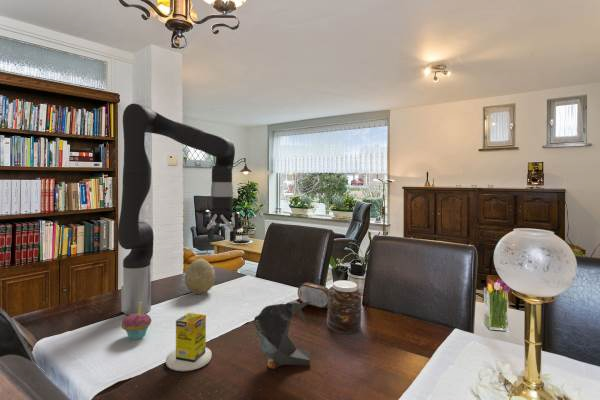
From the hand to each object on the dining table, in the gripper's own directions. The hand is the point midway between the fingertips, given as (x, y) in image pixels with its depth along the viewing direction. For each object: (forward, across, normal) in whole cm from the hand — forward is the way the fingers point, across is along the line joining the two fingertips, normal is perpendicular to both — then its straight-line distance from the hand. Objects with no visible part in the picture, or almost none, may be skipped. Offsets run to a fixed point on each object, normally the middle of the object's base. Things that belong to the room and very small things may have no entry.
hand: (221, 240), depth 122 cm
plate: (+28, +7, -28) cm, 40 cm away
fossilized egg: (+28, -22, +19) cm, 41 cm away
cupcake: (+28, -17, -22) cm, 40 cm away
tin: (+28, +28, +24) cm, 47 cm away
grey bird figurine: (+28, +32, -20) cm, 47 cm away
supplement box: (+27, +7, -28) cm, 40 cm away
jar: (+28, +43, +9) cm, 52 cm away
